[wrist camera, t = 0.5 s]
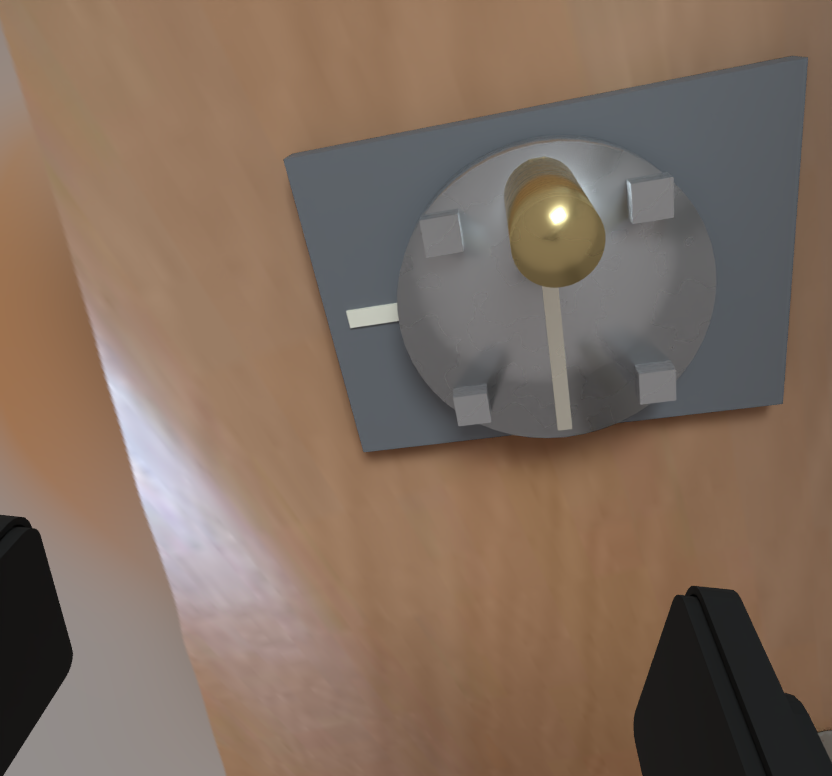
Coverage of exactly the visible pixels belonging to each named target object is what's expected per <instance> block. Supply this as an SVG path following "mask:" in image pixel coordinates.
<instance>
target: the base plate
mask: <svg viewBox="0 0 832 776" xmlns="http://www.w3.org/2000/svg"><path fill="white" fill-rule="evenodd" d="M807 65H808V57H798V56H790V57H784V58H779V59H774V60H769V61H764V62H759V63H754V64H749V65H744V66H738V67H733V68H728V69H723V70H718V71H713V72H708V73H703V74H698V75H693V76H687V77H682V78H677V79H672V80H667V81H662V82H657V83H652V84H647V85H641V86H636V87H631V88H626V89H621V90H616V91H611V92H606V93H601V94H595V95H590V96H585V97H580V98H575V99H570V100H565V101H560V102H555V103H550V104H544V105H539V106H534V107H529V108H524V109H519V110H514V111H509V112H504V113H498V114H493V115H488V116H483V117H478V118H473V119H468V120H463V121H458V122H452V123H447V124H442V125H437V126H432V127H427V128H422V129H417V130H412V131H407V132H401V133H396V134H391V135H386V136H381V137H376V138H371V139H366V140H361V141H355V142H350V143H345V144H340V145H335V146H330V147H325V148H320V149H315V150H309V151H304V152H299V153H294V154H291V155H289V156H288V157H287V158H285V159H284V163H285V167H286V171H287V174H288V178H289V182H290V185H291V189H292V193H293V196H294V200H295V204H296V207H297V211H298V214H299V218H300V222H301V225H302V229H303V233H304V236H305V240H306V244H307V247H308V251H309V255H310V258H311V262H312V266H313V269H314V273H315V277H316V280H317V284H318V287H319V291H320V295H321V298H322V302H323V306H324V309H325V313H326V317H327V320H328V324H329V328H330V331H331V335H332V339H333V342H334V346H335V350H336V353H337V357H338V360H339V364H340V368H341V371H342V375H343V379H344V382H345V386H346V390H347V393H348V397H349V401H350V404H351V408H352V412H353V415H354V419H355V422H356V426H357V430H358V433H359V437H360V441H361V444H362V448H363V452H370V451H379V450H388V449H396V448H405V447H414V446H422V445H431V444H440V443H448V442H457V441H466V440H474V439H483V438H491V437H500V436H509V435H512V434H508V433H504V432H500V431H497V430H493V429H491V428H488V427H486V426H483V425H481V424H474V425H466V426H458V421H457V416H456V411H455V410H454V409H453V408H452V407H450V406H449V405H448V404H446V403H445V402H444V401H443V400H442V399H441V398H440V397H439V396H438V395H437V394H436V393H434V392H433V390H432V389H431V388H430V387H429V386H428V384H427V383H426V382H425V381H424V380H423V378H422V377H421V375H420V374H419V372H418V370H417V369H416V367H415V366H414V364H413V362H412V360H411V358H410V356H409V353H408V351H407V349H406V347H405V344H404V340H403V337H402V334H401V330H400V325H399V318H398V311H397V289H398V282H399V274H400V269H401V266H402V262H403V258H404V255H405V251H406V248H407V245H408V242H409V240H410V237H411V235H412V233H413V230H414V228H415V225H416V223H417V221H418V220H419V218H420V216H421V214H422V213H423V211H424V209H425V208H426V206H427V205H428V203H429V202H430V201H431V199H432V198H433V197H434V196H435V194H436V193H437V192H438V191H439V189H440V188H441V187H442V186H443V185H444V184H445V183H446V182H447V181H448V180H449V179H450V178H452V177H453V176H454V175H455V174H456V173H457V172H459V171H460V170H461V169H463V168H464V167H465V166H467V165H468V164H469V163H471V162H472V161H474V160H476V159H477V158H479V157H481V156H483V155H484V154H486V153H488V152H490V151H492V150H494V149H497V148H499V147H502V146H504V145H507V144H509V143H512V142H516V141H520V140H524V139H528V138H532V137H540V136H548V135H578V136H584V137H590V138H597V139H600V140H603V141H607V142H610V143H613V144H616V145H619V146H621V147H623V148H625V149H627V150H629V151H631V152H634V153H636V154H637V155H639V156H640V157H642V158H643V159H645V160H646V161H648V162H649V163H651V164H652V165H654V166H655V167H656V168H657V169H659V170H660V171H661V172H662V173H664V172H668V173H669V174H671V175H672V176H673V177H674V183H675V184H676V185H677V186H678V187H679V188H680V189H681V190H682V191H683V193H684V194H685V195H686V196H687V198H688V199H689V200H690V201H691V203H692V204H693V205H694V207H695V209H696V210H697V212H698V214H699V216H700V217H701V219H702V221H703V223H704V225H705V228H706V230H707V233H708V236H709V238H710V241H711V244H712V249H713V254H714V258H715V265H716V294H715V303H714V308H713V312H712V316H711V320H710V324H709V326H708V329H707V331H706V334H705V337H704V339H703V341H702V343H701V345H700V347H699V349H698V351H697V353H696V354H695V356H694V358H693V359H692V361H691V362H690V364H689V365H688V366H687V368H686V369H685V371H684V372H683V373H682V375H681V376H680V377H679V378H678V379H677V380H676V400H675V401H667V402H659V403H651V404H649V405H648V406H646V407H645V408H643V409H642V410H641V411H639V412H638V413H636V414H634V415H632V416H630V417H628V418H626V419H624V420H623V421H621V422H630V421H639V420H647V419H656V418H665V417H673V416H682V415H691V414H699V413H708V412H717V411H725V410H734V409H743V408H751V407H760V406H769V405H777V404H783V395H784V381H785V367H786V353H787V340H788V326H789V312H790V298H791V285H792V271H793V257H794V243H795V230H796V216H797V202H798V189H799V175H800V161H801V147H802V134H803V120H804V106H805V92H806V79H807ZM621 422H618V423H621Z"/></svg>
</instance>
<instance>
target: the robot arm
mask: <svg viewBox="0 0 832 776" xmlns="http://www.w3.org/2000/svg"><path fill="white" fill-rule="evenodd" d="M72 656H73V652H72V647H71V643H70V639H69V636H68V632H67V628H66V625H65V622H64V618H63V614H62V611H61V607H60V604H59V600H58V596H57V593H56V589H55V585H54V582H53V578H52V575H51V571H50V568H49V564H48V561H47V557H46V553H45V550H44V546H43V542H42V539H41V535H40V533H39V532H38V530H36V529H33V528H32V526H31V524H30V522H29V521H28V520H27V519H26V518H24V517H15V516H6V515H0V776H3V775H4V773H5V772H6V770H7V769H8V767H9V766H10V764H11V762H12V761H13V759H14V758H15V756H16V755H17V753H18V751H19V750H20V748H21V747H22V745H23V744H24V742H25V740H26V739H27V737H28V736H29V734H30V732H31V731H32V729H33V728H34V726H35V725H36V723H37V722H38V720H39V718H40V717H41V715H42V714H43V712H44V710H45V709H46V707H47V706H48V704H49V703H50V701H51V699H52V698H53V696H54V695H55V693H56V692H57V690H58V689H59V687H60V685H61V684H62V682H63V681H64V679H65V677H66V676H67V673H68V672H69V669H70V667H71V663H72ZM634 738H635V743H636V748H637V753H638V757H639V762H640V766H641V771H642V775H643V776H832V762H831V760H830V758H829V756H828V754H827V752H826V749H825V747H824V745H823V743H822V741H821V739H820V737H819V735H818V733H817V731H816V729H815V727H814V724H813V722H812V720H811V718H810V716H809V714H808V713H807V711H806V709H805V708H804V706H803V704H802V703H801V702H800V701H799V700H798V699H797V698H796V697H795V696H793V695H790V694H787V693H784V692H783V689H782V687H781V685H780V683H779V681H778V679H777V676H776V674H775V672H774V670H773V668H772V665H771V663H770V661H769V659H768V657H767V655H766V652H765V650H764V648H763V646H762V644H761V642H760V639H759V637H758V635H757V633H756V631H755V628H754V626H753V624H752V622H751V620H750V618H749V615H748V613H747V611H746V609H745V607H744V604H743V602H742V600H741V598H740V597H739V595H738V593H737V592H735V591H734V590H728V589H719V588H709V587H699V586H691V587H690V588H689V589H688V590H687V593H686V595H685V596H684V595H676V596H675V597H674V599H673V602H672V605H671V608H670V611H669V614H668V617H667V620H666V622H665V625H664V628H663V631H662V634H661V637H660V640H659V643H658V646H657V649H656V652H655V655H654V658H653V661H652V664H651V667H650V670H649V673H648V676H647V679H646V682H645V685H644V688H643V691H642V693H641V696H640V699H639V702H638V705H637V708H636V711H635V715H634Z"/></svg>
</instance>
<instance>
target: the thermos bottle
mask: <svg viewBox="0 0 832 776" xmlns="http://www.w3.org/2000/svg"><path fill="white" fill-rule="evenodd" d="M818 735H819V737H820V739H821V741H822V743H823V745H824V747H825V749H826V752H827V754H828V756H829V758H830V760H831V762H832V730H829V731H823V732H819V733H818Z"/></svg>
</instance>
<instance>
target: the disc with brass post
mask: <svg viewBox="0 0 832 776" xmlns="http://www.w3.org/2000/svg"><path fill="white" fill-rule="evenodd" d="M715 294H716V265H715V258H714V254H713V249H712V244H711V241H710V238H709V236H708V233H707V230H706V228H705V225H704V223H703V221H702V219H701V217H700V216H699V214H698V212H697V210H696V209H695V207H694V205H693V204H692V203H691V201H690V200H689V199H688V198H687V196H686V195H685V194H684V193H683V191H682V190H681V189H680V188H679V187H678V186H677V185H676V184H675V183H674V177H673V176H672V175H671V174H669V173H668V172H664V173H662V172H661V171H660V170H659V169H657V168H656V167H655V166H654V165H652V164H651V163H649V162H648V161H646V160H645V159H643V158H642V157H640V156H639V155H637V154H636V153H634V152H631V151H629V150H627V149H625V148H623V147H621V146H619V145H616V144H613V143H610V142H607V141H603V140H600V139H597V138H590V137H584V136H578V135H548V136H540V137H532V138H528V139H524V140H520V141H516V142H512V143H509V144H507V145H504V146H502V147H499V148H497V149H494V150H492V151H490V152H488V153H486V154H484V155H483V156H481V157H479V158H477V159H476V160H474V161H472V162H471V163H469V164H468V165H467V166H465V167H464V168H463V169H461V170H460V171H459V172H457V173H456V174H455V175H454V176H453V177H452V178H450V179H449V180H448V181H447V182H446V183H445V184H444V185H443V186H442V187H441V188H440V189H439V191H438V192H437V193H436V194H435V196H434V197H433V198H432V199H431V201H430V202H429V203H428V205H427V206H426V208H425V209H424V211H423V213H422V214H421V216H420V218H419V220H418V221H417V223H416V225H415V228H414V230H413V233H412V235H411V237H410V240H409V242H408V245H407V248H406V251H405V255H404V258H403V262H402V266H401V269H400V274H399V282H398V289H397V311H398V318H399V325H400V330H401V334H402V337H403V340H404V344H405V347H406V349H407V351H408V353H409V356H410V358H411V360H412V362H413V364H414V366H415V367H416V369H417V370H418V372H419V374H420V375H421V377H422V378H423V380H424V381H425V382H426V383H427V384H428V386H429V387H430V388H431V389H432V390H433V392H434V393H436V394H437V395H438V396H439V397H440V398H441V399H442V400H443V401H444V402H445V403H446V404H448V405H449V406H450V407H452V408H453V409H454V410H455V411H456V416H457V421H458V426H466V425H474V424H481V425H483V426H486V427H488V428H491V429H493V430H497V431H500V432H504V433H508V434H512V435H518V436H524V437H534V438H558V437H569V436H575V435H581V434H586V433H589V432H593V431H596V430H600V429H603V428H606V427H608V426H611V425H613V424H616V423H618V422H621V421H623V420H624V419H626V418H628V417H630V416H632V415H634V414H636V413H638V412H639V411H641V410H642V409H643V408H645V407H646V406H648V405H649V404H651V403H659V402H667V401H675V400H676V380H677V379H678V378H679V377H680V376H681V375H682V373H683V372H684V371H685V369H686V368H687V366H688V365H689V364H690V362H691V361H692V359H693V358H694V356H695V354H696V353H697V351H698V349H699V347H700V345H701V343H702V341H703V339H704V337H705V334H706V331H707V329H708V326H709V324H710V320H711V316H712V312H713V308H714V303H715Z"/></svg>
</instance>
